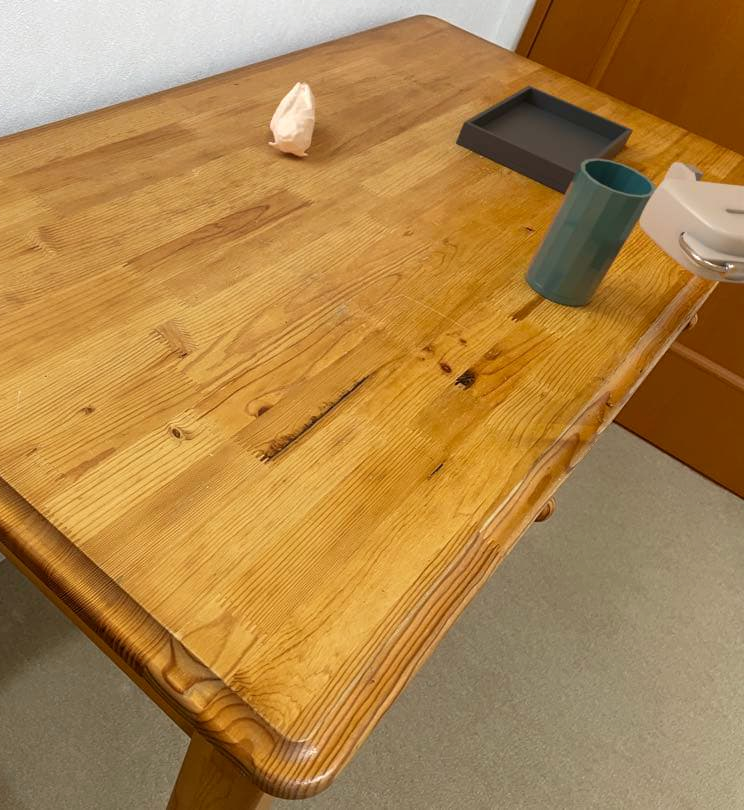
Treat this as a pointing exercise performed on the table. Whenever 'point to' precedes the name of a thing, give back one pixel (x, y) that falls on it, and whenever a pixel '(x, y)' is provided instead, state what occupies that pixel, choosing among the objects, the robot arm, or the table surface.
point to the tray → (542, 136)
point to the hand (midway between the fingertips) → (731, 177)
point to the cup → (588, 231)
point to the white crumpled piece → (294, 121)
